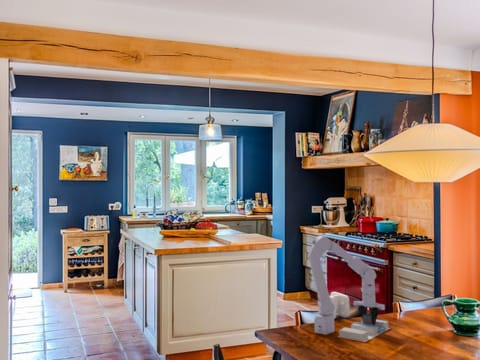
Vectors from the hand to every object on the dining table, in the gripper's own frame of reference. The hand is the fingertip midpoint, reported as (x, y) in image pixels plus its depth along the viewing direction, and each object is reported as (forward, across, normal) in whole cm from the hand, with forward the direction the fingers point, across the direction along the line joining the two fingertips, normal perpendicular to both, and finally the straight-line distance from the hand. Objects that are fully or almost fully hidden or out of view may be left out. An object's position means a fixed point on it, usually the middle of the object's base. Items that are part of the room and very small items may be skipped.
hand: (369, 323), depth 221 cm
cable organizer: (+4, +27, -15) cm, 31 cm away
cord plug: (+2, 0, 0) cm, 2 cm away
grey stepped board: (+4, 0, +5) cm, 6 cm away
